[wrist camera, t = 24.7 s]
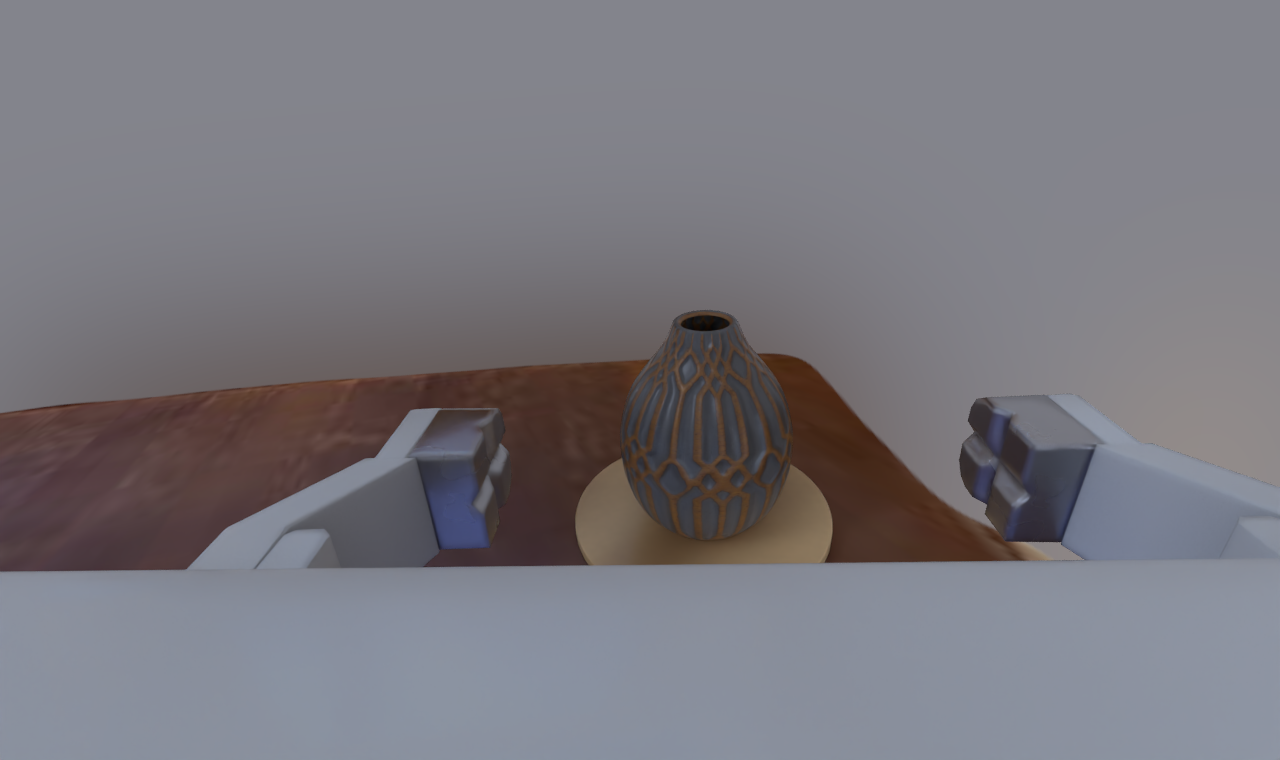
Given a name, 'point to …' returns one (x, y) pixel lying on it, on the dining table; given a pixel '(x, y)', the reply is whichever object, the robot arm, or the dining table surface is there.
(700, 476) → the vase
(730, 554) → the cork trivet
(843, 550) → the dining table surface
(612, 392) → the dining table surface
